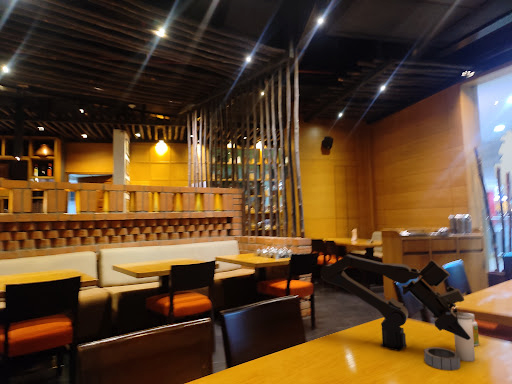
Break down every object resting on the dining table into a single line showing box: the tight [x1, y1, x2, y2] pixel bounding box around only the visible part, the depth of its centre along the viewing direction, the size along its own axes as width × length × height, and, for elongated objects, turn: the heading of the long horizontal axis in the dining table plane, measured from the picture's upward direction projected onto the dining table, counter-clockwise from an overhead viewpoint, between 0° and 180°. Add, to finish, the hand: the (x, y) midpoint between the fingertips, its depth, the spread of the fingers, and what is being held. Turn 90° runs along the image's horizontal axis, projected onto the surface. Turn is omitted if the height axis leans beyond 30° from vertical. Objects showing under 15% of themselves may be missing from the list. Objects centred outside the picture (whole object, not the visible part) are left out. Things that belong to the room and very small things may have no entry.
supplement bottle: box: [467, 312, 480, 347], centre depth 115 cm, size 5×5×10 cm
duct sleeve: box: [453, 311, 476, 362], centre depth 103 cm, size 5×5×13 cm
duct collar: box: [423, 346, 461, 371], centre depth 99 cm, size 9×9×3 cm
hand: (469, 336), depth 102 cm, fingers closed on duct sleeve, 5 cm apart
